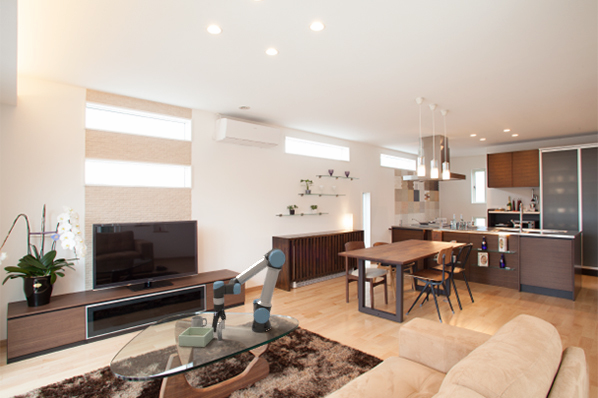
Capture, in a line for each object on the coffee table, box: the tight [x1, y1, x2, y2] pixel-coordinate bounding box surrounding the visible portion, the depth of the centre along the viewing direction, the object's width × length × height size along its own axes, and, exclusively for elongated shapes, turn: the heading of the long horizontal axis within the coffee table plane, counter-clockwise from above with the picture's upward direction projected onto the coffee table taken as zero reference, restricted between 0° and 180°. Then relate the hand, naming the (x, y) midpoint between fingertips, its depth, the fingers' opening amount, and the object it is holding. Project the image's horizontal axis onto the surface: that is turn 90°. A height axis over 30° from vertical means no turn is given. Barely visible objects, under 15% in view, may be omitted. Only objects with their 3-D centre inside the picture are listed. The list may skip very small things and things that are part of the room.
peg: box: [217, 321, 223, 341], centre depth 241 cm, size 3×3×12 cm
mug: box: [190, 315, 208, 328], centre depth 257 cm, size 12×8×11 cm
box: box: [177, 326, 215, 348], centre depth 238 cm, size 19×16×7 cm
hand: (219, 332), depth 241 cm, fingers open, 13 cm apart
